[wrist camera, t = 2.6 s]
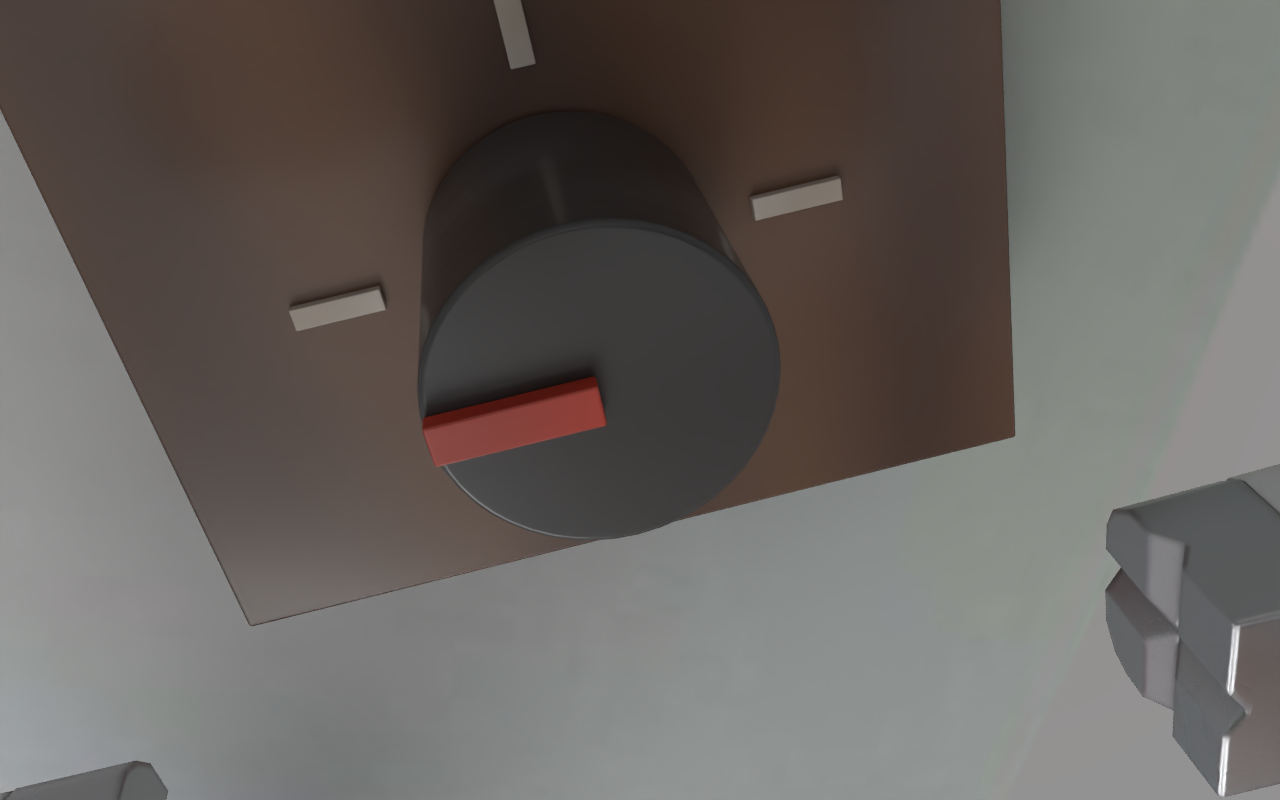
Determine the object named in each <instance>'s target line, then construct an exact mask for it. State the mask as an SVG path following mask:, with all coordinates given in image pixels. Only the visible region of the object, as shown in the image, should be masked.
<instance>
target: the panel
mask: <svg viewBox="0 0 1280 800" xmlns="http://www.w3.org/2000/svg"><path fill="white" fill-rule="evenodd" d="M0 109H1V111H2V114H3V116H4V118H5V120H6V122H7V124H8V126H9V128H10V130H11V132H12V134H13V136H14V138H15V140H16V143H17V145H18V147H19V149H20V151H21V153H22V155H23V157H24V159H25V161H26V163H27V165H28V167H29V169H30V172H31V174H32V176H33V178H34V180H35V182H36V184H37V186H38V188H39V190H40V192H41V194H42V196H43V199H44V201H45V203H46V205H47V207H48V209H49V211H50V213H51V215H52V217H53V219H54V221H55V223H56V225H57V228H58V230H59V232H60V234H61V236H62V238H63V240H64V242H65V244H66V246H67V248H68V250H69V252H70V254H71V257H72V259H73V261H74V263H75V265H76V267H77V269H78V271H79V273H80V275H81V277H82V279H83V281H84V284H85V286H86V288H87V290H88V292H89V294H90V296H91V298H92V300H93V302H94V304H95V306H96V308H97V310H98V313H99V315H100V317H101V319H102V321H103V323H104V325H105V327H106V329H107V331H108V333H109V335H110V337H111V339H112V342H113V344H114V346H115V348H116V350H117V352H118V354H119V356H120V358H121V360H122V362H123V364H124V366H125V368H126V371H127V373H128V375H129V377H130V379H131V381H132V383H133V385H134V387H135V389H136V391H137V393H138V395H139V398H140V400H141V402H142V404H143V406H144V408H145V410H146V412H147V414H148V416H149V418H150V420H151V422H152V424H153V427H154V429H155V431H156V433H157V435H158V437H159V439H160V441H161V443H162V445H163V447H164V449H165V451H166V453H167V456H168V458H169V460H170V462H171V464H172V466H173V468H174V470H175V472H176V474H177V476H178V478H179V480H180V482H181V485H182V487H183V489H184V491H185V493H186V495H187V497H188V499H189V501H190V503H191V505H192V507H193V509H194V512H195V514H196V516H197V518H198V520H199V522H200V524H201V526H202V528H203V530H204V532H205V534H206V536H207V538H208V541H209V543H210V545H211V547H212V549H213V551H214V553H215V555H216V557H217V559H218V561H219V563H220V565H221V567H222V570H223V572H224V574H225V576H226V578H227V580H228V582H229V584H230V586H231V588H232V590H233V592H234V594H235V597H236V599H237V601H238V603H239V605H240V607H241V609H242V611H243V613H244V615H245V617H246V619H247V621H248V623H249V625H250V626H255V625H259V624H263V623H267V622H271V621H275V620H279V619H283V618H287V617H291V616H295V615H299V614H303V613H307V612H311V611H315V610H319V609H323V608H327V607H331V606H335V605H339V604H343V603H347V602H352V601H356V600H360V599H364V598H368V597H372V596H376V595H380V594H384V593H388V592H392V591H396V590H400V589H404V588H408V587H412V586H416V585H420V584H424V583H428V582H432V581H436V580H440V579H444V578H448V577H452V576H456V575H460V574H464V573H468V572H472V571H476V570H480V569H484V568H488V567H492V566H496V565H500V564H504V563H508V562H512V561H517V560H521V559H525V558H529V557H533V556H537V555H541V554H545V553H549V552H553V551H557V550H561V549H565V548H569V547H573V546H577V545H581V544H585V543H589V542H593V541H597V540H571V539H564V538H556V537H550V536H546V535H542V534H538V533H534V532H530V531H527V530H525V529H522V528H520V527H517V526H514V525H512V524H509V523H507V522H506V521H504V520H502V519H500V518H498V517H496V516H494V515H492V514H491V513H489V512H488V511H486V510H485V509H483V508H482V507H481V506H479V505H478V504H476V503H475V502H474V501H473V500H471V499H470V498H469V497H468V496H467V495H466V494H465V493H464V492H463V491H462V490H460V489H459V488H458V487H457V486H456V484H455V483H454V482H453V481H452V480H451V478H450V477H449V476H448V475H447V474H446V472H445V471H444V470H443V468H442V467H441V466H440V467H435V466H434V464H433V461H432V458H431V455H430V452H429V449H428V446H427V444H426V441H425V438H424V435H423V432H422V421H421V417H420V413H419V404H418V394H417V385H418V357H419V330H420V303H421V276H422V250H423V234H424V228H425V223H426V218H427V215H428V212H429V209H430V206H431V203H432V200H433V198H434V196H435V194H436V192H437V190H438V188H439V186H440V184H441V182H442V181H443V180H444V178H445V177H446V175H447V174H448V172H449V171H450V170H451V168H452V167H453V166H454V165H455V163H456V162H457V161H458V160H459V159H460V158H461V157H462V156H463V155H464V154H465V153H466V152H467V151H468V150H469V149H470V148H472V147H473V146H474V145H475V144H477V143H478V142H479V141H480V140H482V139H483V138H485V137H486V136H488V135H490V134H491V133H493V132H494V131H496V130H498V129H500V128H502V127H504V126H506V125H508V124H511V123H513V122H515V121H518V120H521V119H524V118H528V117H531V116H534V115H539V114H545V113H551V112H564V111H580V112H590V113H597V114H602V115H606V116H611V117H615V118H617V119H620V120H623V121H625V122H628V123H631V124H633V125H635V126H637V127H639V128H641V129H642V130H644V131H646V132H648V133H650V134H651V135H653V136H654V137H655V138H657V139H658V140H659V141H661V142H662V143H664V144H665V145H666V146H667V147H668V148H669V149H670V150H671V151H672V152H673V153H674V154H675V155H676V156H677V157H678V158H679V159H680V160H681V162H682V163H683V164H684V166H685V167H686V168H687V169H688V171H689V172H690V174H691V175H692V177H693V179H694V181H695V182H696V184H697V186H698V188H699V189H700V191H701V193H702V195H703V196H704V198H705V200H706V201H707V203H708V205H709V207H710V208H711V210H712V212H713V214H714V215H715V217H716V219H717V221H718V222H719V224H720V226H721V228H722V229H723V231H724V233H725V235H726V236H727V238H728V240H729V242H730V243H731V245H732V247H733V248H734V250H735V252H736V254H737V255H738V257H739V259H740V261H741V262H742V264H743V266H744V268H745V269H746V271H747V273H748V275H749V276H750V278H751V280H752V282H753V283H754V285H755V287H756V289H757V290H758V292H759V294H760V295H761V297H762V299H763V301H764V302H765V304H766V306H767V308H768V311H769V313H770V316H771V318H772V321H773V323H774V326H775V330H776V334H777V339H778V343H779V349H780V362H781V373H780V387H779V392H778V397H777V402H776V406H775V410H774V413H773V416H772V418H771V421H770V424H769V427H768V429H767V432H766V433H765V435H764V437H763V439H762V441H761V443H760V445H759V447H758V449H757V450H756V452H755V453H754V455H753V456H752V458H751V459H750V460H749V462H748V463H747V465H746V466H745V467H744V468H743V470H742V471H741V472H740V473H739V474H738V475H737V476H736V477H735V479H734V480H733V481H732V482H731V483H730V484H729V485H728V486H726V487H725V488H724V489H723V490H722V491H721V492H720V493H719V494H717V495H716V496H715V497H714V498H712V499H711V500H709V501H708V502H707V503H705V504H704V505H702V506H701V507H700V508H698V509H696V510H695V511H693V512H691V513H689V514H688V515H686V516H684V517H682V518H680V519H678V520H682V519H686V518H690V517H694V516H698V515H702V514H706V513H710V512H714V511H718V510H722V509H726V508H730V507H734V506H738V505H742V504H746V503H750V502H754V501H758V500H762V499H766V498H770V497H774V496H778V495H782V494H786V493H790V492H794V491H798V490H802V489H806V488H810V487H814V486H818V485H822V484H826V483H830V482H834V481H838V480H842V479H847V478H851V477H855V476H859V475H863V474H867V473H871V472H875V471H879V470H883V469H887V468H891V467H895V466H899V465H903V464H907V463H911V462H915V461H919V460H923V459H927V458H931V457H935V456H939V455H943V454H947V453H951V452H955V451H959V450H963V449H967V448H971V447H975V446H979V445H983V444H987V443H991V442H995V441H999V440H1003V439H1007V438H1012V437H1014V436H1015V415H1014V385H1013V356H1012V326H1011V297H1010V267H1009V238H1008V208H1007V179H1006V149H1005V119H1004V90H1003V60H1002V31H1001V1H1000V0H0ZM676 521H677V520H676Z"/></svg>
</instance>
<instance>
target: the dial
mask: <svg viewBox="0 0 1280 800" xmlns="http://www.w3.org/2000/svg"><path fill="white" fill-rule="evenodd" d="M780 373H781V362H780V349H779V343H778V339H777V334H776V330H775V326H774V323H773V321H772V318H771V316H770V313H769V311H768V308H767V306H766V304H765V302H764V301H763V299H762V297H761V295H760V294H759V292H758V290H757V289H756V287H755V285H754V283H753V282H752V280H751V278H750V276H749V275H748V273H747V271H746V269H745V268H744V266H743V264H742V262H741V261H740V259H739V257H738V255H737V254H736V252H735V250H734V248H733V247H732V245H731V243H730V242H729V240H728V238H727V236H726V235H725V233H724V231H723V229H722V228H721V226H720V224H719V222H718V221H717V219H716V217H715V215H714V214H713V212H712V210H711V208H710V207H709V205H708V203H707V201H706V200H705V198H704V196H703V195H702V193H701V191H700V189H699V188H698V186H697V184H696V182H695V181H694V179H693V177H692V175H691V174H690V172H689V171H688V169H687V168H686V167H685V166H684V164H683V163H682V162H681V160H680V159H679V158H678V157H677V156H676V155H675V154H674V153H673V152H672V151H671V150H670V149H669V148H668V147H667V146H666V145H665V144H664V143H662V142H661V141H659V140H658V139H657V138H655V137H654V136H653V135H651V134H650V133H648V132H646V131H644V130H642V129H641V128H639V127H637V126H635V125H633V124H631V123H628V122H625V121H623V120H620V119H617V118H615V117H611V116H606V115H602V114H597V113H590V112H580V111H564V112H551V113H545V114H539V115H534V116H531V117H528V118H524V119H521V120H518V121H515V122H513V123H511V124H508V125H506V126H504V127H502V128H500V129H498V130H496V131H494V132H493V133H491V134H490V135H488V136H486V137H485V138H483V139H482V140H480V141H479V142H478V143H477V144H475V145H474V146H473V147H472V148H470V149H469V150H468V151H467V152H466V153H465V154H464V155H463V156H462V157H461V158H460V159H459V160H458V161H457V162H456V163H455V165H454V166H453V167H452V168H451V170H450V171H449V172H448V174H447V175H446V177H445V178H444V180H443V181H442V182H441V184H440V186H439V188H438V190H437V192H436V194H435V196H434V198H433V200H432V203H431V206H430V209H429V212H428V215H427V218H426V223H425V228H424V234H423V250H422V276H421V303H420V330H419V357H418V385H417V394H418V404H419V413H420V417H421V421H422V432H423V435H424V438H425V441H426V444H427V446H428V449H429V452H430V455H431V458H432V461H433V464H434V466H435V467H440V466H441V467H442V468H443V470H444V471H445V472H446V474H447V475H448V476H449V477H450V478H451V480H452V481H453V482H454V483H455V484H456V486H457V487H458V488H459V489H460V490H462V491H463V492H464V493H465V494H466V495H467V496H468V497H469V498H470V499H471V500H473V501H474V502H475V503H476V504H478V505H479V506H481V507H482V508H483V509H485V510H486V511H488V512H489V513H491V514H492V515H494V516H496V517H498V518H500V519H502V520H504V521H506V522H507V523H509V524H512V525H514V526H517V527H520V528H522V529H525V530H527V531H530V532H534V533H538V534H542V535H546V536H550V537H556V538H564V539H571V540H603V539H614V538H621V537H626V536H631V535H636V534H640V533H643V532H647V531H650V530H653V529H657V528H660V527H662V526H664V525H667V524H669V523H671V522H674V521H676V520H678V519H680V518H682V517H684V516H686V515H688V514H689V513H691V512H693V511H695V510H696V509H698V508H700V507H701V506H702V505H704V504H705V503H707V502H708V501H709V500H711V499H712V498H714V497H715V496H716V495H717V494H719V493H720V492H721V491H722V490H723V489H724V488H725V487H726V486H728V485H729V484H730V483H731V482H732V481H733V480H734V479H735V477H736V476H737V475H738V474H739V473H740V472H741V471H742V470H743V468H744V467H745V466H746V465H747V463H748V462H749V460H750V459H751V458H752V456H753V455H754V453H755V452H756V450H757V449H758V447H759V445H760V443H761V441H762V439H763V437H764V435H765V433H766V432H767V429H768V427H769V424H770V421H771V418H772V416H773V413H774V410H775V406H776V402H777V397H778V392H779V387H780Z"/></svg>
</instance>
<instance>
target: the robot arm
mask: <svg viewBox="0 0 1280 800" xmlns="http://www.w3.org/2000/svg"><path fill="white" fill-rule="evenodd" d="M1106 549H1107V551H1108V552H1109V553H1110V554H1111V555H1112V557H1113V558H1114V559H1115V560H1116V561H1117V563H1118V564H1119V565H1120V566H1121V568H1120V570H1119V571H1118V573H1117V574H1116V576H1115V577H1114V578H1113V580H1112V581H1111V583H1110V584H1109V585H1108V587H1107V588H1106V590H1105V593H1106V621H1107V624H1108V628H1109V632H1110V635H1111V639H1112V642H1113V646H1114V649H1115V652H1116V654H1117V656H1118V658H1119V660H1120V662H1121V664H1122V666H1123V668H1124V670H1125V672H1126V674H1127V675H1128V677H1129V678H1130V679H1131V681H1132V682H1133V683H1134V685H1135V686H1136V688H1137V689H1138V690H1139V692H1140V693H1141V694H1142V696H1143V697H1145V698H1147V699H1150V700H1152V701H1154V702H1156V703H1158V704H1161V705H1163V706H1165V707H1167V708H1170V709H1172V710H1174V715H1173V737H1174V738H1175V740H1176V741H1177V743H1178V744H1179V745H1180V746H1181V748H1182V749H1183V750H1184V752H1185V753H1186V754H1187V756H1188V757H1189V758H1190V760H1191V761H1192V762H1193V764H1194V765H1195V766H1196V767H1197V769H1198V770H1199V771H1200V773H1201V774H1202V775H1203V777H1204V778H1205V779H1206V781H1207V782H1208V783H1209V784H1210V786H1211V787H1212V788H1213V790H1214V791H1215V792H1216V794H1217V795H1218V796H1219V798H1222V797H1226V796H1230V795H1235V794H1239V793H1243V792H1247V791H1252V790H1256V789H1259V788H1264V787H1268V786H1272V785H1277V784H1280V464H1278V465H1274V466H1271V467H1267V468H1264V469H1260V470H1257V471H1253V472H1249V473H1246V474H1242V475H1238V476H1235V477H1231V478H1229V479H1227V480H1226V481H1220V482H1216V483H1213V484H1209V485H1205V486H1202V487H1197V488H1194V489H1190V490H1186V491H1182V492H1178V493H1175V494H1171V495H1167V496H1163V497H1160V498H1156V499H1152V500H1148V501H1144V502H1141V503H1137V504H1133V505H1129V506H1125V507H1122V508H1118V509H1114V510H1113V511H1112V513H1111V516H1110V518H1109V521H1108V523H1107V535H1106ZM167 794H168V790H167V788H166V787H165V785H164V784H163V782H162V780H161V779H160V777H159V776H158V774H157V773H156V771H155V770H154V768H153V767H152V765H151V763H145V762H140V761H132V762H128V763H124V764H120V765H115V766H111V767H107V768H102V769H98V770H94V771H89V772H85V773H81V774H77V775H72V776H68V777H64V778H59V779H55V780H51V781H46V782H42V783H38V784H34V785H29V786H25V787H21V788H16V789H15V790H14V791H10V792H5V793H1V794H0V800H166V798H167Z"/></svg>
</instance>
